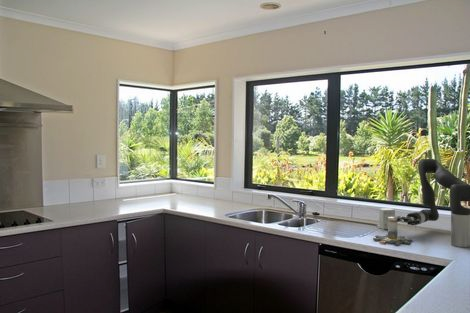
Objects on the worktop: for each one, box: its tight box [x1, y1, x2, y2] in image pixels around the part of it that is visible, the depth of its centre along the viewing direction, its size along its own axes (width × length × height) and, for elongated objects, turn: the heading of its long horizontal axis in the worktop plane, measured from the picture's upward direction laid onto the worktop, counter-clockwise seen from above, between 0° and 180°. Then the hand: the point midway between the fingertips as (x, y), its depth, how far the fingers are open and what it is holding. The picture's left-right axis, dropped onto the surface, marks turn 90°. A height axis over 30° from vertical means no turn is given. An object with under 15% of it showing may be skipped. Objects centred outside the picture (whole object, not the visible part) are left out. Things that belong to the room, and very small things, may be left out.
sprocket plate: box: [372, 234, 414, 247], centre depth 221 cm, size 21×21×2 cm
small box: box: [378, 207, 396, 230], centre depth 252 cm, size 8×6×13 cm
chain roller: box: [387, 216, 398, 239], centre depth 221 cm, size 5×5×12 cm
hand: (401, 221), depth 226 cm, fingers open, 8 cm apart
